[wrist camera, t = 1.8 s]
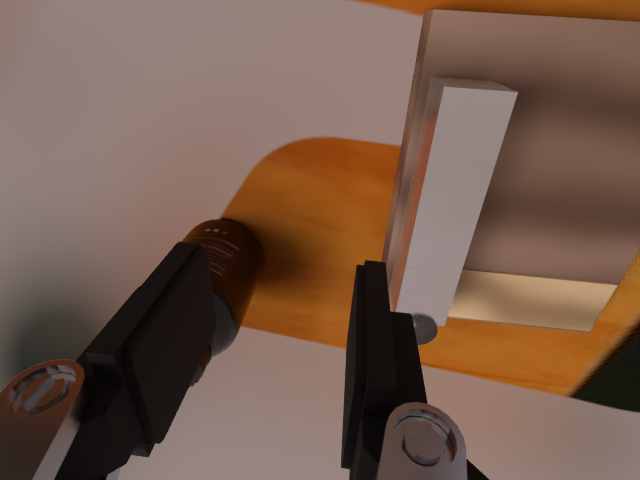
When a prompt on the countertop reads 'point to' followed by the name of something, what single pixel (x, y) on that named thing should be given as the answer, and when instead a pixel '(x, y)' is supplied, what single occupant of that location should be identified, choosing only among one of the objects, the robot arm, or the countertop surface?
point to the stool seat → (540, 163)
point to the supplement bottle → (228, 278)
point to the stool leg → (447, 195)
